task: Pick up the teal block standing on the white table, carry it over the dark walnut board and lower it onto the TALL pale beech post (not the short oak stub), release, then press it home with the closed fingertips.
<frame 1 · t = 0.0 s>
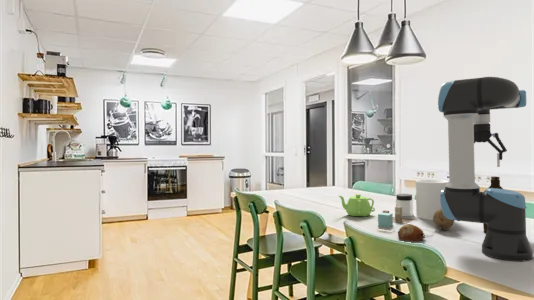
hand: (482, 166, 171), 28 cm above the table, fingers open, 13 cm apart
stub post: (386, 217, 186), resting on board
olive oil: (496, 234, 152), on the table
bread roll: (411, 239, 149), on the table
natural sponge: (443, 230, 160), on the table
post: (398, 220, 177), resting on board
teal block: (385, 227, 169), on the table
jar: (404, 216, 191), on the table
canister: (432, 218, 184), on the table
teapot: (356, 217, 194), on the table
board: (395, 221, 180), on the table
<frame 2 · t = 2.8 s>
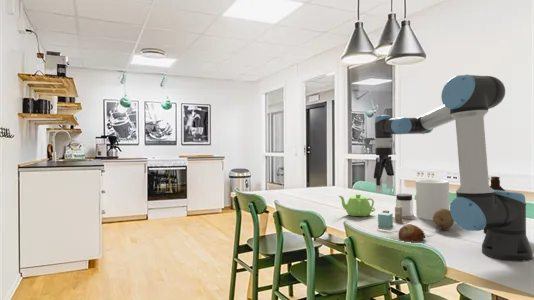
hand: (384, 190, 168), 18 cm above the table, fingers open, 13 cm apart
nothing on the table moved.
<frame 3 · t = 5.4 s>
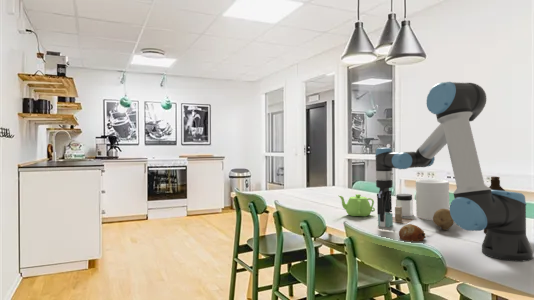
hand: (385, 226, 169), 0 cm above the table, fingers closed on teal block, 5 cm apart
teal block: (385, 227, 169), on the table, touching gripper
everything else where it was.
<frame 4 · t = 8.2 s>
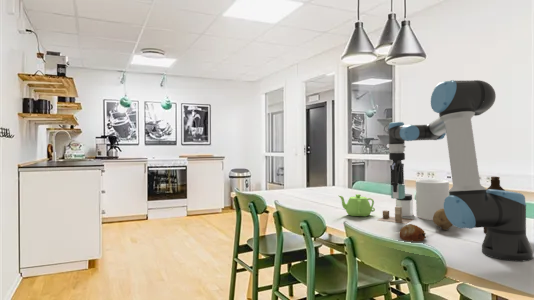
hand: (397, 197, 177), 13 cm above the table, fingers closed on teal block, 5 cm apart
teal block: (398, 197, 177), point 13 cm above the table, touching gripper
everything else where it was.
when the fingers open (3 cm above the table, at t = 10.5 s): teal block stays where it is, resting on post.
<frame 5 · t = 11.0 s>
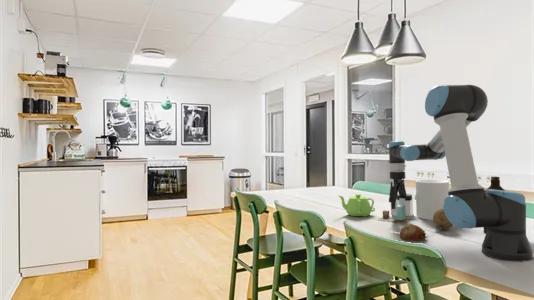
hand: (398, 212, 177), 5 cm above the table, fingers open, 12 cm apart
teal block: (398, 218, 177), point 2 cm above the table, touching post
everything else where it was.
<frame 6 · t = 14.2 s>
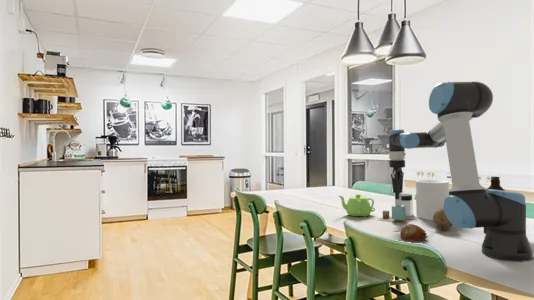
hand: (398, 205, 177), 9 cm above the table, fingers closed
teal block: (398, 218, 177), point 2 cm above the table, touching gripper, post
everything else where it was.
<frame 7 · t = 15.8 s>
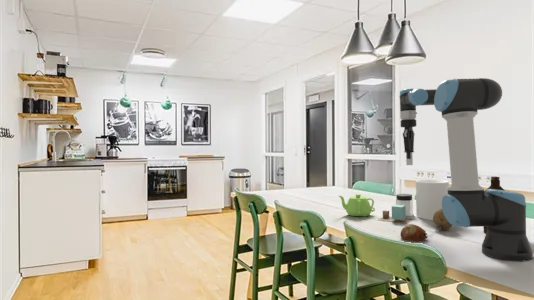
hand: (409, 165, 178), 29 cm above the table, fingers closed
teal block: (398, 218, 177), point 2 cm above the table, touching post
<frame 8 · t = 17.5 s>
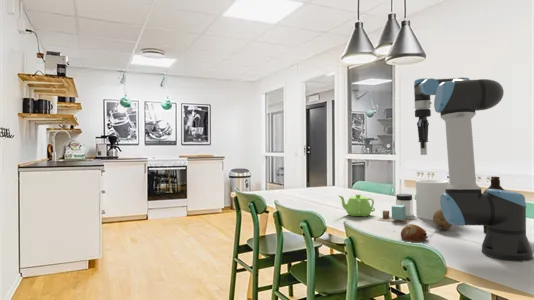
hand: (423, 154, 179), 34 cm above the table, fingers closed
at the end: teal block 0.1 cm from the post (horizontally); teal block point 2.0 cm above the table; the gripper is holding nothing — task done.
